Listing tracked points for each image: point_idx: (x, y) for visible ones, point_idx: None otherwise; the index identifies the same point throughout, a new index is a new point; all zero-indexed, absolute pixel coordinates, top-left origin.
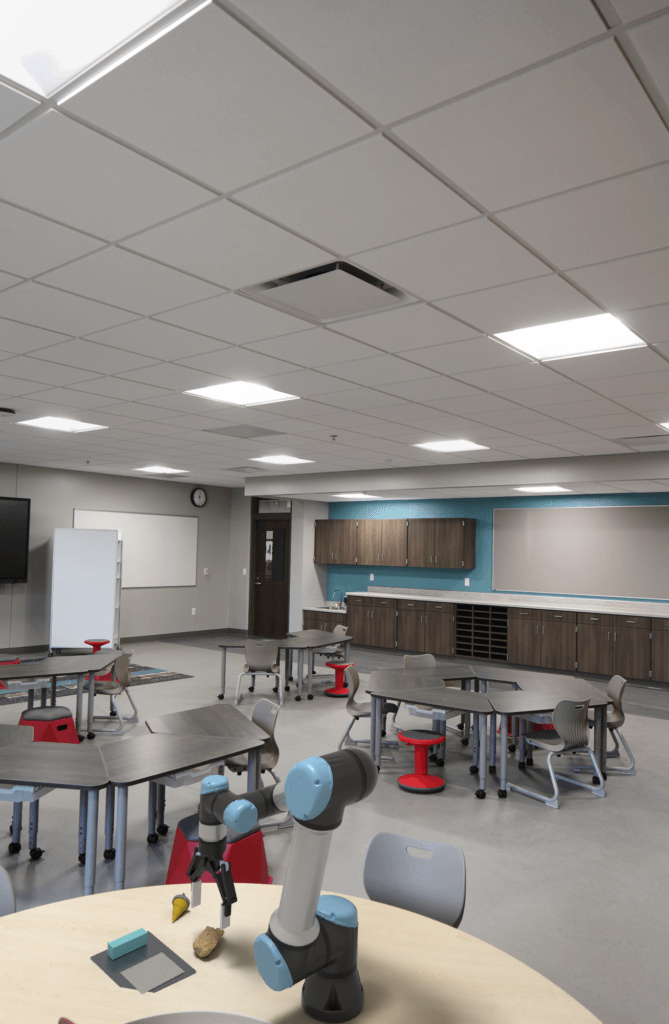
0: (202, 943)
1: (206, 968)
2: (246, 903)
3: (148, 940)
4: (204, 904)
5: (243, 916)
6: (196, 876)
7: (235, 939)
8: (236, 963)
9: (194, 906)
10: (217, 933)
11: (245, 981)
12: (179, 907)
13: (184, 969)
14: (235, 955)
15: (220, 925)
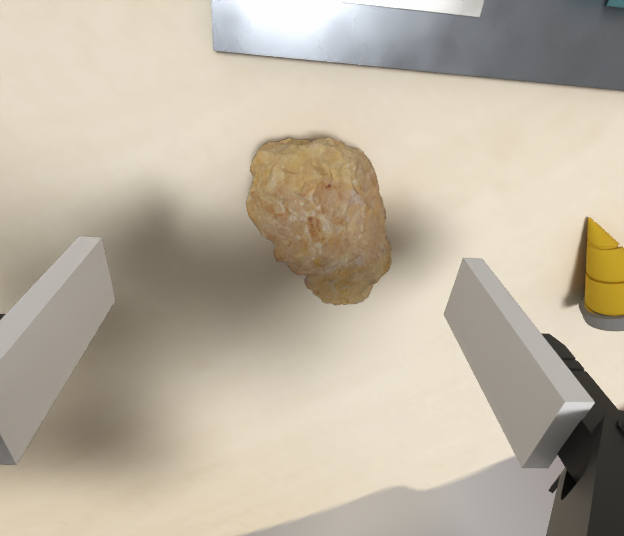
0: (291, 169)
1: (224, 119)
2: (417, 424)
3: (617, 36)
4: None
5: (375, 388)
6: (584, 505)
7: (296, 308)
8: (166, 228)
9: (459, 275)
10: (298, 265)
11: (31, 180)
12: (612, 279)
13: (267, 9)
14: (214, 255)
15: (83, 251)
